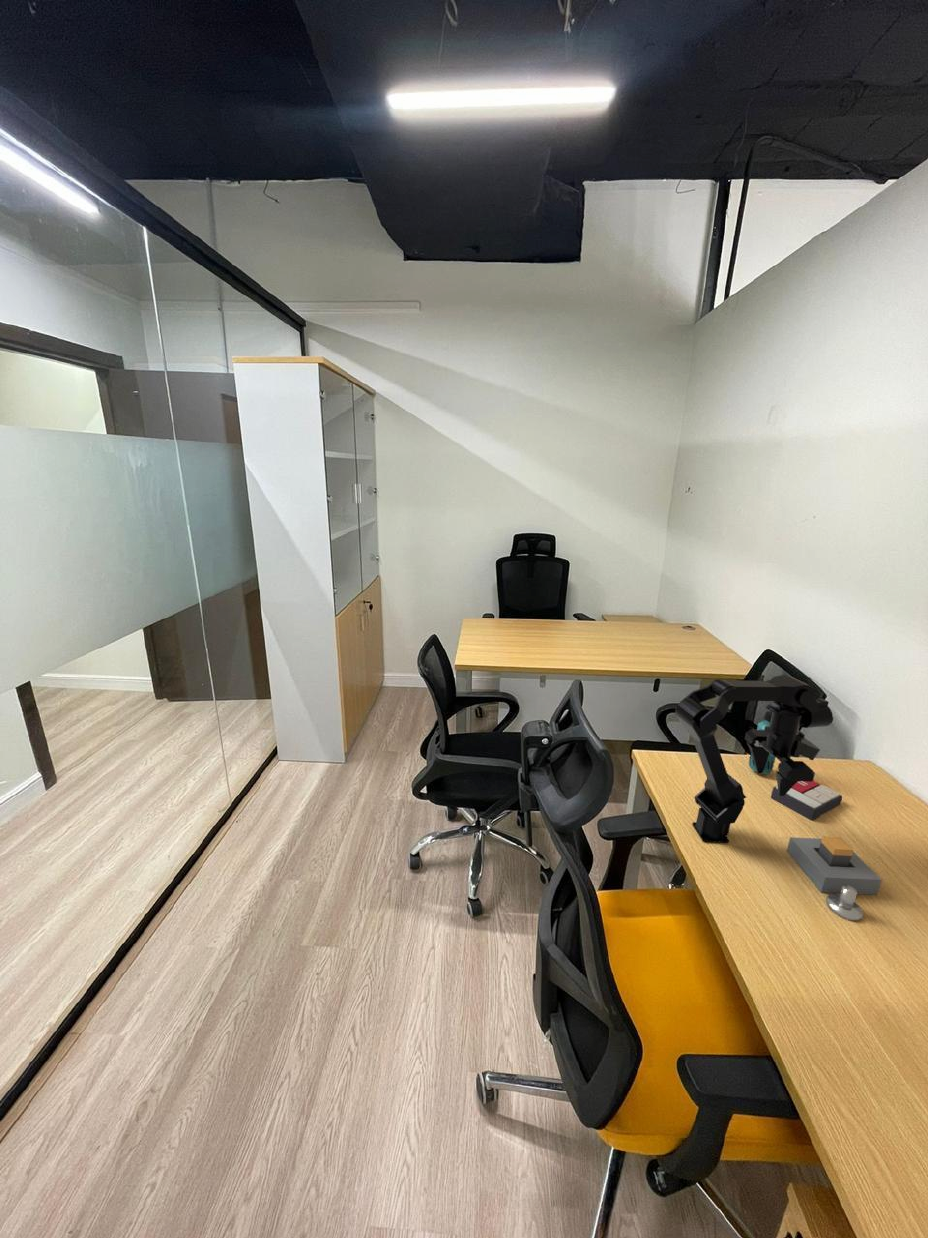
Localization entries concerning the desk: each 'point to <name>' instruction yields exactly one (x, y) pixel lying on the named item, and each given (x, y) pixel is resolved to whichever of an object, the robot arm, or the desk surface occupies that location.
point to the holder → (832, 869)
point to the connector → (835, 851)
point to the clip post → (845, 904)
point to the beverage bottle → (771, 758)
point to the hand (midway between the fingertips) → (770, 784)
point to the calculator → (808, 799)
